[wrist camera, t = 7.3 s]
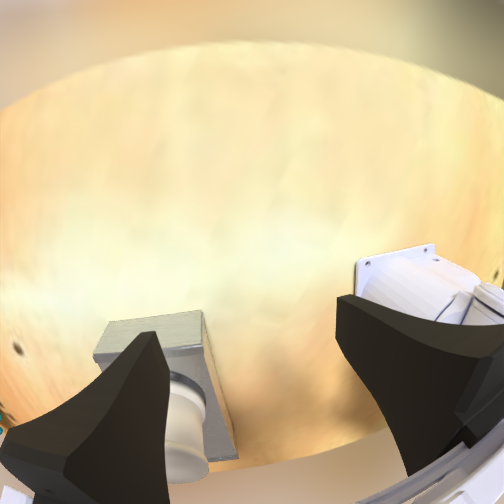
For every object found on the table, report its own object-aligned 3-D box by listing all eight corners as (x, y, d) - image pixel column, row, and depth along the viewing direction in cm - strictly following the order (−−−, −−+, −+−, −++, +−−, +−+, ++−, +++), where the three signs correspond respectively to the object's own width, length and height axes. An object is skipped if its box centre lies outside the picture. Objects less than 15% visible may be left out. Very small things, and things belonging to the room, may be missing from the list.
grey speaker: (202, 309, 21) (202, 343, 17) (234, 427, 26) (239, 459, 22) (108, 321, 20) (91, 354, 16) (164, 433, 25) (162, 465, 21)
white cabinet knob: (200, 378, 17) (204, 446, 12) (208, 424, 19) (214, 483, 13) (125, 378, 17) (109, 442, 11) (143, 424, 18) (136, 481, 12)
